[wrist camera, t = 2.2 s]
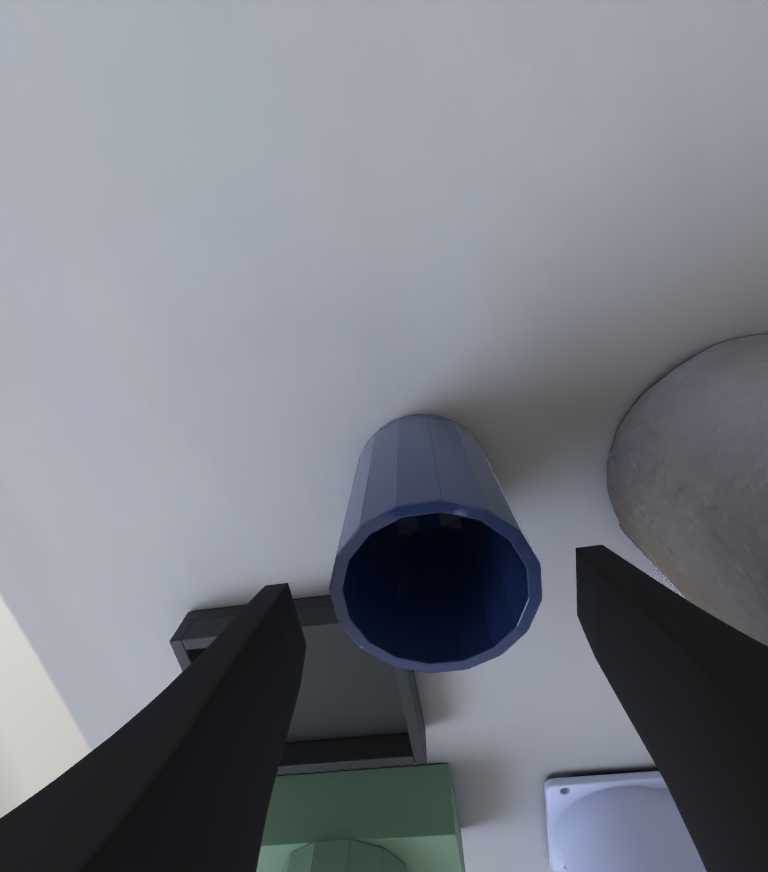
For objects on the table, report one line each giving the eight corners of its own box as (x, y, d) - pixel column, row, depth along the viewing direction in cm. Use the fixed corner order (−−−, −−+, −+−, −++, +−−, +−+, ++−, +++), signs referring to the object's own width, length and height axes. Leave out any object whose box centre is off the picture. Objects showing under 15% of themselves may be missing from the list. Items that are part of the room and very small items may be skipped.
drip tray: (397, 587, 19) (396, 616, 17) (425, 727, 22) (427, 764, 20) (188, 611, 20) (168, 641, 18) (242, 742, 23) (229, 778, 21)
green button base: (448, 759, 23) (460, 882, 18) (461, 832, 25) (475, 959, 20) (240, 775, 24) (201, 895, 19) (269, 843, 26) (241, 966, 21)
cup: (480, 404, 16) (536, 486, 9) (492, 522, 18) (546, 662, 11) (345, 425, 16) (309, 517, 10) (370, 538, 18) (353, 681, 12)
